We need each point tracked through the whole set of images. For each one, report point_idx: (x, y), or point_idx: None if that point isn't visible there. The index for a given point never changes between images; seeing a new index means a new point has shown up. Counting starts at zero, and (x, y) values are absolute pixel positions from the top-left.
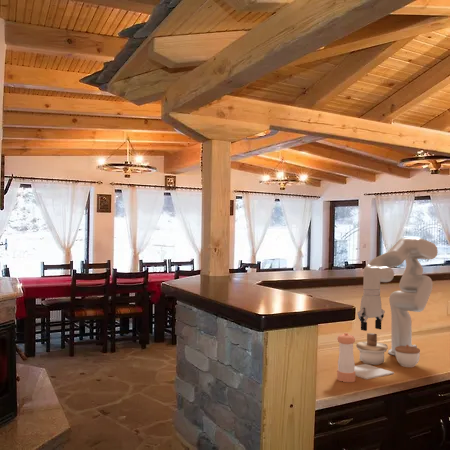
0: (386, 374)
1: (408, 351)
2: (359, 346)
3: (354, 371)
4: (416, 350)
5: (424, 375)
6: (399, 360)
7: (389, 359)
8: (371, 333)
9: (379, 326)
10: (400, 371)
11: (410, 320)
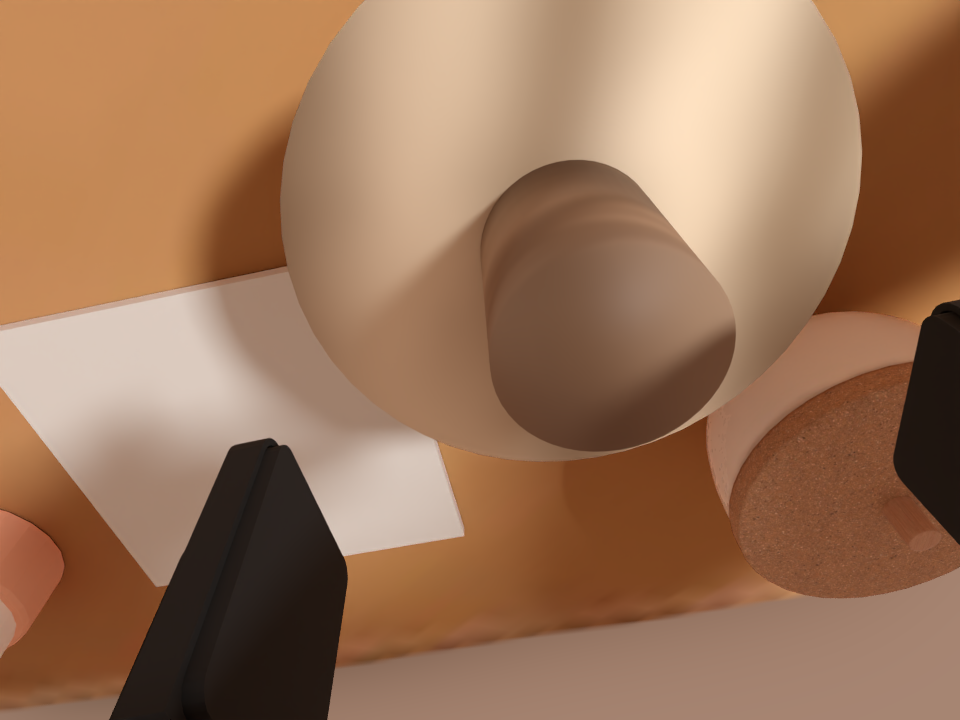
0: (374, 547)
1: (772, 581)
2: (288, 253)
3: (16, 633)
4: (878, 589)
5: (646, 596)
6: (707, 424)
7: (870, 97)
8: (665, 293)
9: (947, 511)
10: (562, 496)
11: None
